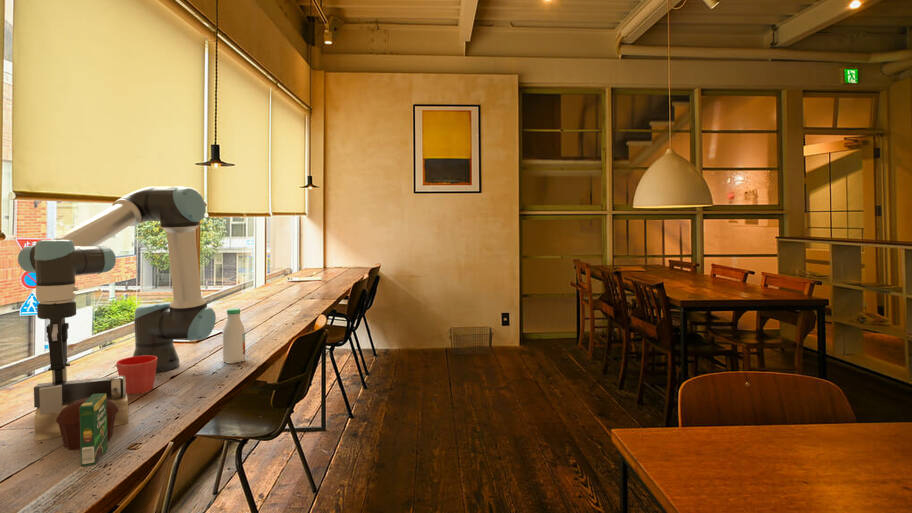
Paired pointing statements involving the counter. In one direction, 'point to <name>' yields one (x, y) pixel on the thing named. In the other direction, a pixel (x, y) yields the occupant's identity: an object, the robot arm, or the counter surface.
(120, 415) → the stool seat
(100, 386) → the folding leg
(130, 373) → the flower pot
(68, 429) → the muffin
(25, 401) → the counter surface
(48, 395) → the block
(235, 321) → the milk bottle
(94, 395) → the coffee box
